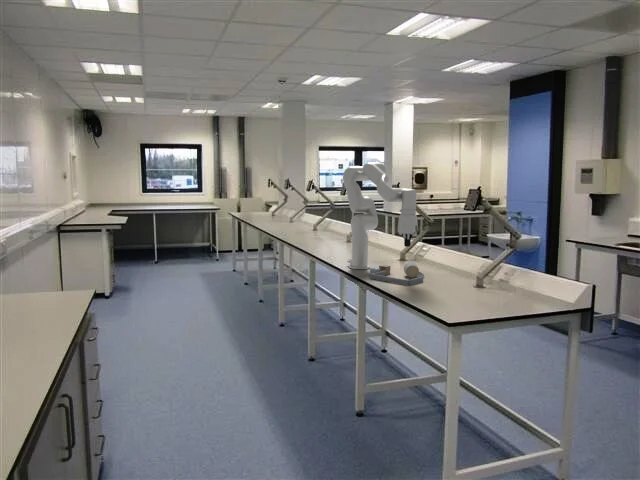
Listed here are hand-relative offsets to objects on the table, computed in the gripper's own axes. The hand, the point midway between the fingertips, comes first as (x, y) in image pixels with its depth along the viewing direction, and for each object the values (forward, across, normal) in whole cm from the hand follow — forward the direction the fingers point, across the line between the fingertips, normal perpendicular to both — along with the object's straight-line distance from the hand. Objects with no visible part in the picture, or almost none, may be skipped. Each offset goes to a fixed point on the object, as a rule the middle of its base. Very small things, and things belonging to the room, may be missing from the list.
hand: (407, 246), depth 276 cm
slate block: (+17, -15, -8) cm, 24 cm away
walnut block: (+17, -15, +1) cm, 23 cm away
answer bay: (+17, 0, -10) cm, 20 cm away
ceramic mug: (+17, +2, +5) cm, 18 cm away
